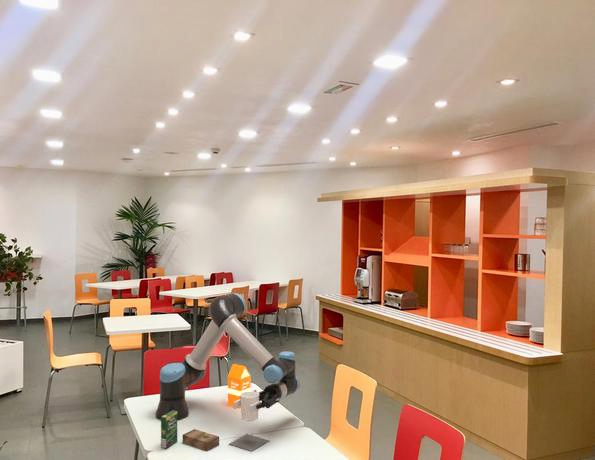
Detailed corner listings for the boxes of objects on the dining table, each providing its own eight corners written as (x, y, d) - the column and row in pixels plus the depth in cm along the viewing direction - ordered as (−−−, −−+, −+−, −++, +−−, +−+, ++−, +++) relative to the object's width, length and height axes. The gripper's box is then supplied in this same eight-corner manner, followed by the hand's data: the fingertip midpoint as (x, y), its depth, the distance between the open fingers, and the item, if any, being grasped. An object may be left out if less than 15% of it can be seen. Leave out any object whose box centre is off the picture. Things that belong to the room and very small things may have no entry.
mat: (228, 444, 208) (228, 443, 208) (247, 434, 218) (247, 433, 218) (251, 451, 202) (251, 450, 202) (269, 441, 212) (269, 440, 212)
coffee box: (166, 449, 203) (166, 417, 203) (160, 448, 204) (160, 416, 204) (177, 442, 211) (178, 410, 211) (172, 440, 212) (172, 409, 212)
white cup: (256, 422, 205) (256, 398, 205) (237, 421, 207) (237, 396, 207) (261, 415, 213) (261, 391, 213) (243, 414, 215) (243, 390, 215)
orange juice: (237, 400, 262) (238, 362, 261) (250, 404, 256) (250, 364, 256) (227, 404, 255) (227, 365, 255) (240, 408, 250) (240, 368, 250)
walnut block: (182, 443, 210) (182, 431, 210) (194, 437, 216) (194, 426, 216) (207, 451, 202) (207, 439, 202) (219, 445, 208) (219, 433, 208)
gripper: (294, 404, 219) (262, 421, 200) (256, 396, 231) (223, 411, 212) (294, 387, 219) (262, 402, 200) (256, 379, 231) (223, 393, 212)
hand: (242, 407), depth 206 cm, fingers closed on white cup, 8 cm apart
